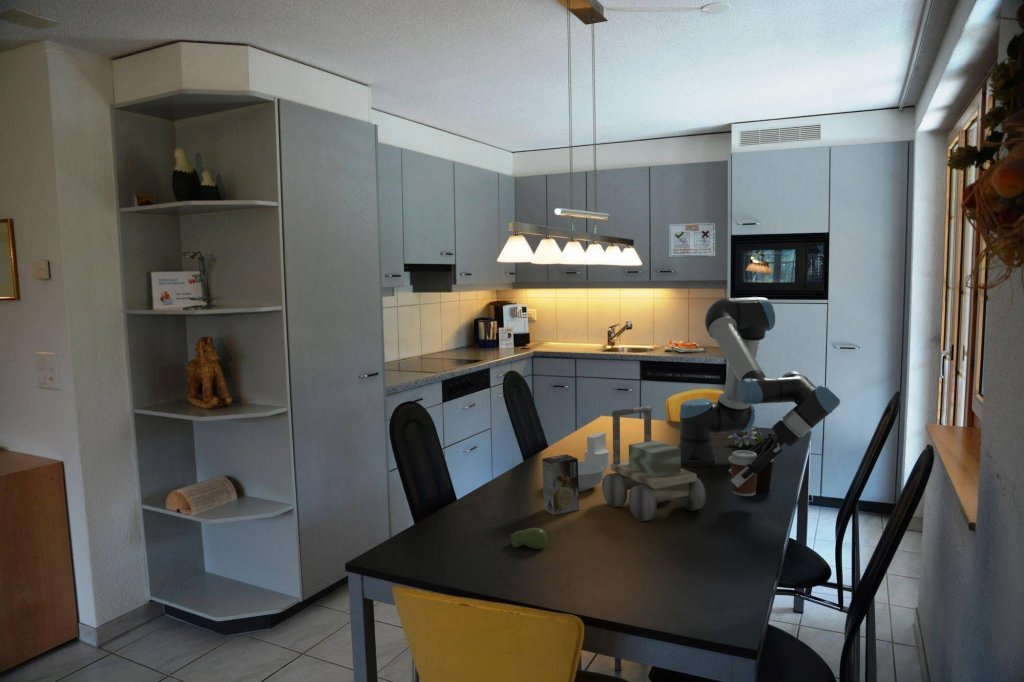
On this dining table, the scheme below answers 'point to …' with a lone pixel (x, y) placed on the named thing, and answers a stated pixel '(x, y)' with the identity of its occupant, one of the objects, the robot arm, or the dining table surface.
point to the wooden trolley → (649, 473)
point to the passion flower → (745, 437)
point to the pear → (529, 538)
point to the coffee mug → (764, 478)
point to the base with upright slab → (597, 450)
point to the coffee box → (560, 484)
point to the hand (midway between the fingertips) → (732, 478)
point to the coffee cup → (737, 465)
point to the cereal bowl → (589, 475)
